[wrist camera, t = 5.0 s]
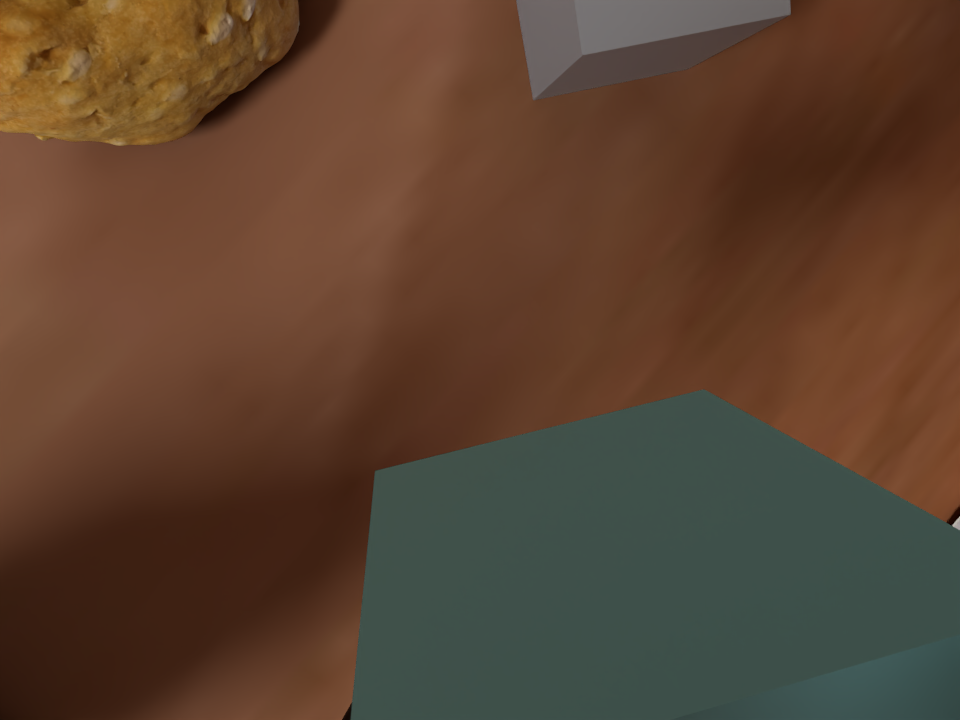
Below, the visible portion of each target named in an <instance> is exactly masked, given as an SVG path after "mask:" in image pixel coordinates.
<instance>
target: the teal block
mask: <svg viewBox="0 0 960 720" xmlns="http://www.w3.org/2000/svg"><path fill="white" fill-rule="evenodd" d="M351 720H960V530H958V529H957V528H955V527H953V526H951V525H949V524H948V523H946V522H944V521H942V520H940V519H938V518H937V517H935V516H933V515H931V514H929V513H928V512H926V511H924V510H922V509H920V508H919V507H917V506H915V505H913V504H911V503H909V502H908V501H906V500H904V499H902V498H900V497H899V496H897V495H895V494H893V493H891V492H889V491H888V490H886V489H884V488H882V487H880V486H879V485H877V484H875V483H873V482H871V481H869V480H868V479H866V478H864V477H862V476H860V475H859V474H857V473H855V472H853V471H851V470H850V469H848V468H846V467H844V466H842V465H840V464H839V463H837V462H835V461H833V460H831V459H830V458H828V457H826V456H824V455H822V454H820V453H819V452H817V451H815V450H813V449H811V448H810V447H808V446H806V445H804V444H802V443H800V442H799V441H797V440H795V439H793V438H791V437H790V436H788V435H786V434H784V433H782V432H781V431H779V430H777V429H775V428H773V427H771V426H770V425H768V424H766V423H764V422H762V421H761V420H759V419H757V418H755V417H753V416H751V415H750V414H748V413H746V412H744V411H742V410H741V409H739V408H737V407H735V406H733V405H731V404H730V403H728V402H726V401H724V400H722V399H721V398H719V397H717V396H715V395H713V394H711V393H710V392H708V391H706V390H700V391H696V392H692V393H688V394H684V395H679V396H675V397H671V398H667V399H663V400H659V401H655V402H651V403H647V404H643V405H639V406H635V407H631V408H627V409H623V410H619V411H615V412H611V413H607V414H603V415H599V416H595V417H591V418H587V419H582V420H578V421H574V422H570V423H566V424H562V425H558V426H554V427H550V428H546V429H542V430H538V431H534V432H530V433H526V434H522V435H518V436H514V437H510V438H506V439H502V440H498V441H494V442H490V443H485V444H481V445H477V446H473V447H469V448H465V449H461V450H457V451H453V452H449V453H445V454H441V455H437V456H433V457H429V458H425V459H421V460H417V461H413V462H409V463H405V464H401V465H397V466H393V467H389V468H384V469H380V470H376V471H375V477H374V487H373V497H372V507H371V517H370V528H369V538H368V548H367V558H366V568H365V578H364V588H363V599H362V609H361V619H360V629H359V639H358V649H357V659H356V669H355V680H354V690H353V700H352V710H351Z"/></svg>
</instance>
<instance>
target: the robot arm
mask: <svg viewBox="0 0 960 720" xmlns="http://www.w3.org/2000/svg"><path fill="white" fill-rule="evenodd" d="M351 710H352V703H351V705H350V707H349V708H348V710H347V712H346V714H345V715H344V717H343V719H342V720H351Z"/></svg>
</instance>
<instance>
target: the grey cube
mask: <svg viewBox="0 0 960 720" xmlns="http://www.w3.org/2000/svg"><path fill="white" fill-rule="evenodd" d="M516 1H517V7H518V13H519V19H520V25H521V31H522V37H523V43H524V49H525V54H526V60H527V66H528V72H529V78H530V84H531V90H532V96H533V100H537V99H542V98H547V97H552V96H557V95H562V94H567V93H572V92H577V91H582V90H587V89H592V88H597V87H602V86H607V85H612V84H617V83H622V82H627V81H632V80H637V79H642V78H646V77H651V76H656V75H661V74H666V73H671V72H676V71H681V70H686V69H689V68H691V67H693V66H695V65H697V64H699V63H701V62H702V61H704V60H706V59H708V58H710V57H712V56H714V55H716V54H718V53H719V52H721V51H723V50H725V49H727V48H729V47H731V46H733V45H734V44H736V43H738V42H740V41H742V40H744V39H746V38H748V37H749V36H751V35H753V34H755V33H757V32H759V31H761V30H763V29H765V28H766V27H768V26H770V25H772V24H774V23H776V22H778V21H780V20H781V19H783V18H785V17H787V16H789V15H791V7H790V0H516Z"/></svg>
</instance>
